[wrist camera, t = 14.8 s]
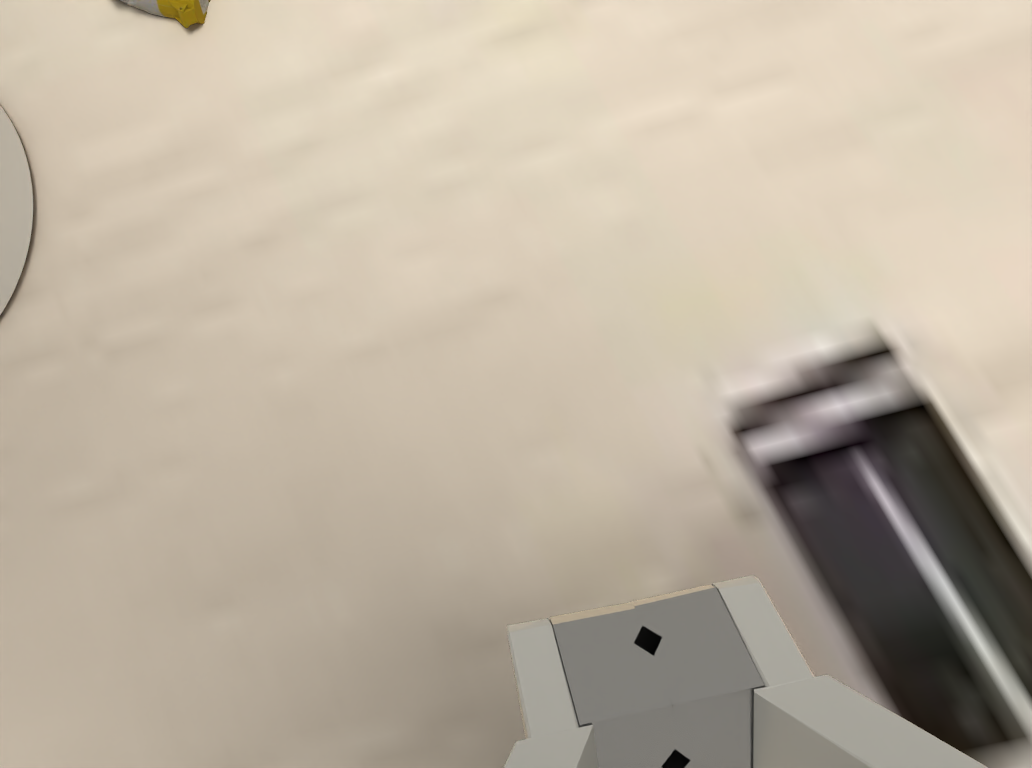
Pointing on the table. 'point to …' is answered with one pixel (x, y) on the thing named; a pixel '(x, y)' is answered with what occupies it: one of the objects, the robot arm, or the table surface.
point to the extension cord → (174, 9)
